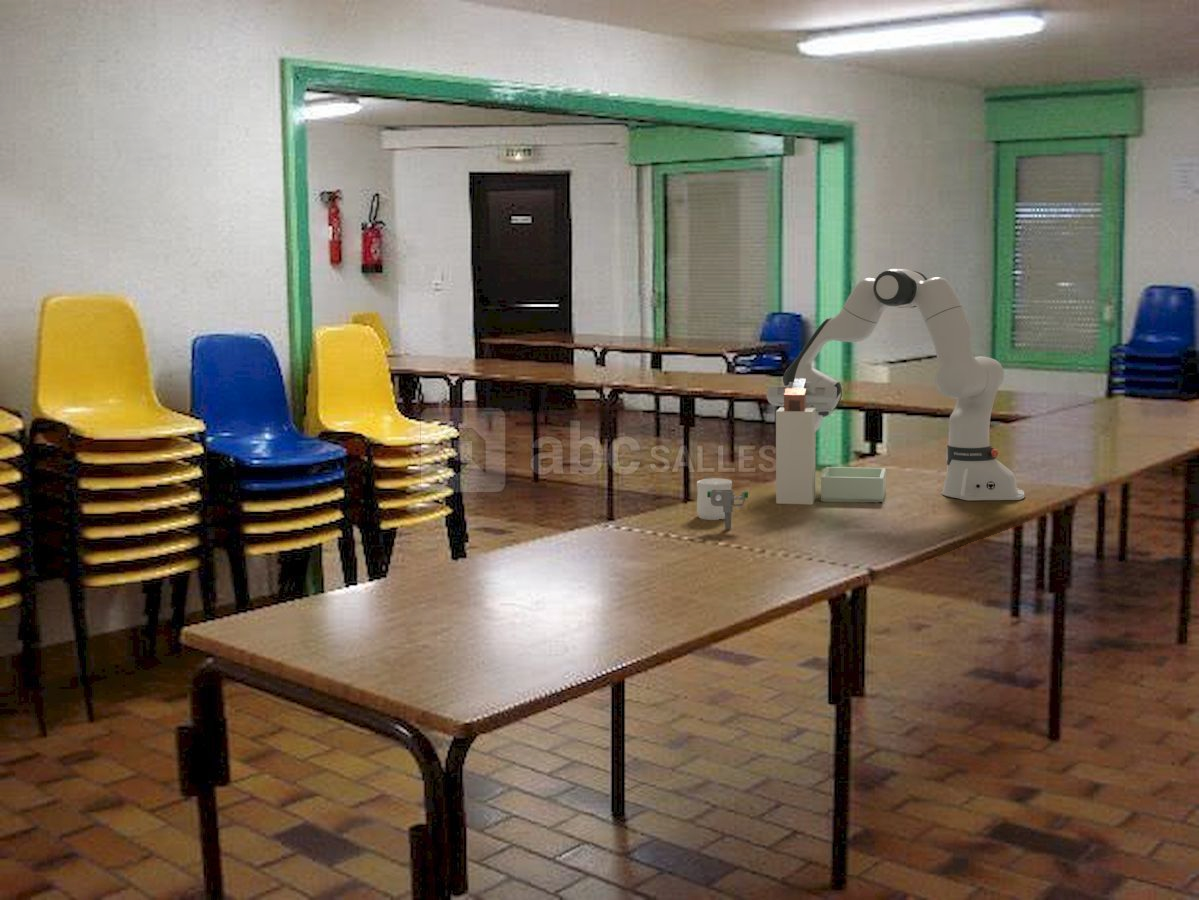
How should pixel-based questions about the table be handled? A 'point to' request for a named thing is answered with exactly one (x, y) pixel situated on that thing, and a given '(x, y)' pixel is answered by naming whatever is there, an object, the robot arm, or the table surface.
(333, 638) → the table surface
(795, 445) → the cream block
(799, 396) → the grey long block
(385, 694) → the table surface
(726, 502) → the mechanical component
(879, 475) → the green bin
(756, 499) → the table surface
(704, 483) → the cup
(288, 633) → the table surface
